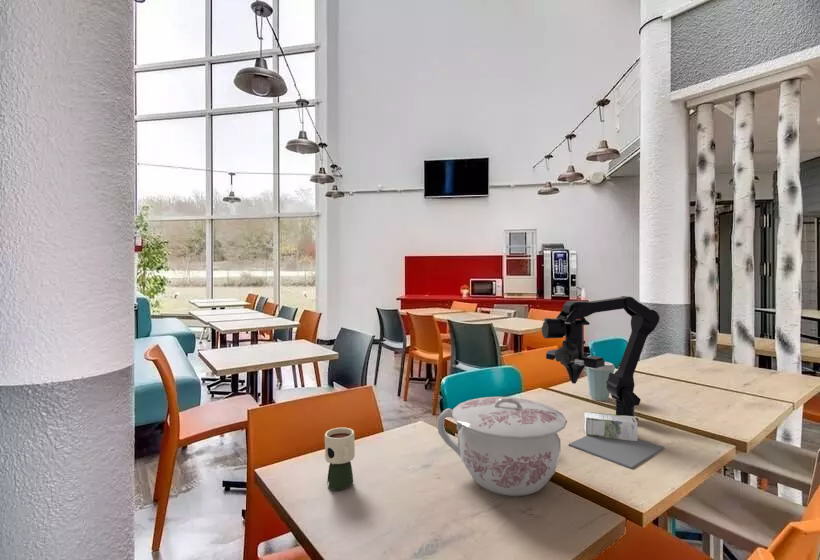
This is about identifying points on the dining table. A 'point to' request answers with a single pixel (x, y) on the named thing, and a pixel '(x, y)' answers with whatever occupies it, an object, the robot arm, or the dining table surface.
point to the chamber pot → (506, 442)
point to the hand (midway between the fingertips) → (573, 383)
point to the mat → (618, 449)
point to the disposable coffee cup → (599, 381)
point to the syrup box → (611, 426)
